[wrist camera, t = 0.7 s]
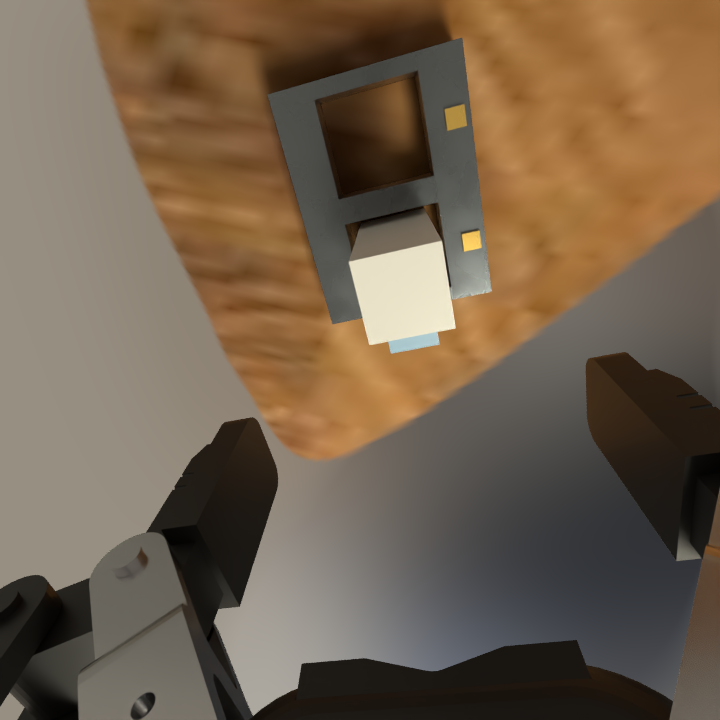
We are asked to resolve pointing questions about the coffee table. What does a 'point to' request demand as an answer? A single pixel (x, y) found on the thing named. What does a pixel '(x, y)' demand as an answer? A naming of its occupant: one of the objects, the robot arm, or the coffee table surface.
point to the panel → (441, 186)
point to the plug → (402, 281)
